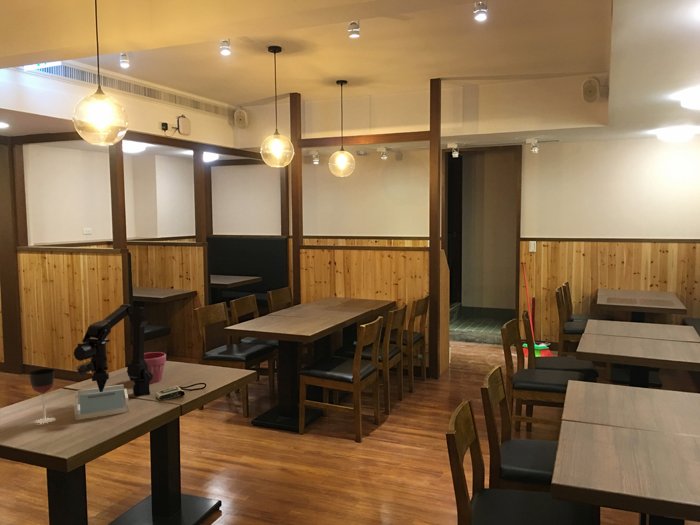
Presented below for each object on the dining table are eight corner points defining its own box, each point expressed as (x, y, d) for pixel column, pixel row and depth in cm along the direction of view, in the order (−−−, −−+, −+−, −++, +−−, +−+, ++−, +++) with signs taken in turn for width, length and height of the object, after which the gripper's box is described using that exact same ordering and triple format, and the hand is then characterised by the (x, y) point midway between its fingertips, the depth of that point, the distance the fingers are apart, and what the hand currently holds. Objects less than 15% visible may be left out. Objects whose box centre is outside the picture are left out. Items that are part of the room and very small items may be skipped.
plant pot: (134, 386, 267) (132, 360, 266) (138, 378, 281) (136, 353, 280) (165, 383, 270) (164, 357, 269) (168, 375, 284) (166, 350, 283)
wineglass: (40, 417, 228) (36, 369, 226) (61, 417, 227) (58, 368, 226) (28, 424, 220) (24, 374, 218) (50, 424, 220) (46, 374, 218)
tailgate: (123, 406, 231) (122, 389, 230) (123, 408, 230) (122, 390, 229) (80, 413, 224) (79, 395, 224) (80, 414, 223) (79, 396, 222)
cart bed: (126, 401, 245) (125, 384, 244) (129, 411, 232) (128, 392, 232) (76, 409, 236) (74, 390, 236) (75, 420, 224) (74, 400, 223)
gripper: (77, 352, 236) (79, 388, 237) (76, 362, 219) (79, 401, 220) (106, 349, 240) (108, 384, 242) (107, 358, 223) (109, 397, 225)
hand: (101, 391), depth 232 cm, fingers closed
